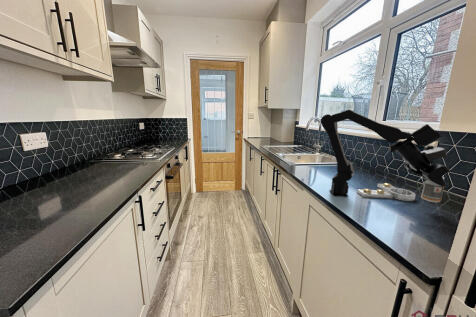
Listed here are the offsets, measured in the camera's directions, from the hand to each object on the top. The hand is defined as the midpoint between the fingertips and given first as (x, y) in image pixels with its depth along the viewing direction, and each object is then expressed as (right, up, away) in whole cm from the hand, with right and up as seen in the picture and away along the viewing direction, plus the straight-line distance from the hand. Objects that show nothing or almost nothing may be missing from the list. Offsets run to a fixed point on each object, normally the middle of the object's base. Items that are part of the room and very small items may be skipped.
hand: (438, 183), depth 75 cm
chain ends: (-8, -7, +21) cm, 23 cm away
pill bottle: (-1, -7, +2) cm, 8 cm away
